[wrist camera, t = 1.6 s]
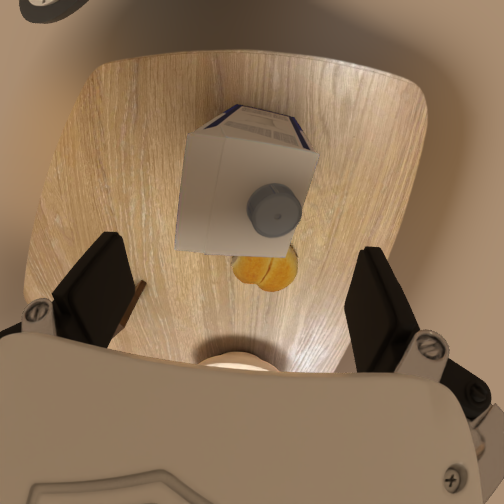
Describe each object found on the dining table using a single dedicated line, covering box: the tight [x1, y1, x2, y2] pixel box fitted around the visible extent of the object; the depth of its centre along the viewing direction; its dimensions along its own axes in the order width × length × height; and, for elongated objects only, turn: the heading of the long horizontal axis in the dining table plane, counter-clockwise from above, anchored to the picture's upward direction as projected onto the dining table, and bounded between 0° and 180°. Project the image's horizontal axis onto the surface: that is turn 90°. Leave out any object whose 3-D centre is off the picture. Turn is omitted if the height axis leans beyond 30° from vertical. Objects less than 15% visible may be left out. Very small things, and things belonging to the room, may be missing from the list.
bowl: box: [198, 352, 280, 372], centre depth 52 cm, size 20×20×7 cm
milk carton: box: [174, 104, 320, 258], centre depth 23 cm, size 7×7×20 cm
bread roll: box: [231, 246, 298, 292], centre depth 39 cm, size 8×9×4 cm
